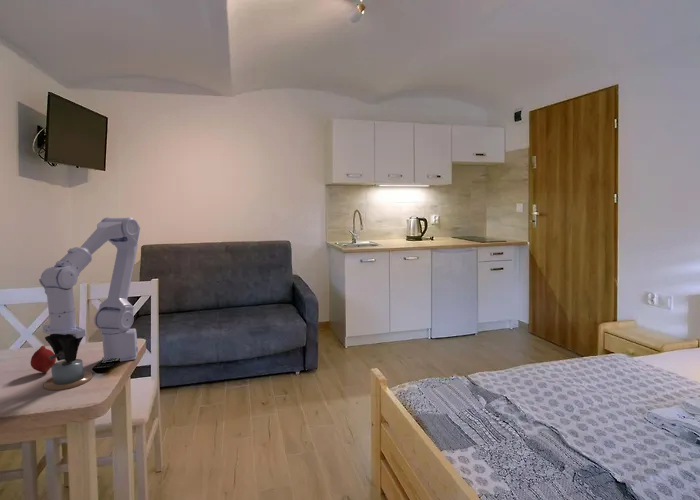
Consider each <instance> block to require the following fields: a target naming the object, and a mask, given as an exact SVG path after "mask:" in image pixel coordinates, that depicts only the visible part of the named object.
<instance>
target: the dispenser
mask: <svg viewBox="0 0 700 500" xmlns="http://www.w3.org/2000/svg"><path fill="white" fill-rule="evenodd" d="M83 363H84V362H83V360H82V359H81V358H80V359H79V358H76V360H75V361H72V362H69V363H67V362H65V360H60V361H58V362H57V361H56V362H55V364H53V365H52V366H51V368H50V370H51V376H52V377H51V378H49V379H47V380H46V381H45V382H44V383H43V388H44V389H45V390H47V391H62V390H69V389H72V388H76V387H79V386H82V385H84V384H86V383H88V382H90V381H91V380H92V379H93V373H92V372H91V371H86V370H84V365H83Z"/></svg>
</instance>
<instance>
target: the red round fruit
mask: <svg viewBox="0 0 700 500" xmlns="http://www.w3.org/2000/svg"><path fill="white" fill-rule="evenodd" d="M52 355H55V353H54V351H53V350H51V349H48V348H47V347H46V345H41V346H40V347H39V348H38V349H37V350H36V351H35V352H34V353H33V354H32V356H31V358H30V366H31V368H32V369H33V370H35V371H37V372H39V373H42V374H44V373H45V374H46V373H48V371H50V370H51V366H52V365H53V364H55V363H57V358H54V359H49V356H52Z"/></svg>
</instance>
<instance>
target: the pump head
mask: <svg viewBox="0 0 700 500" xmlns="http://www.w3.org/2000/svg"><path fill="white" fill-rule="evenodd" d="M54 354H55V353H54ZM57 357H59V359H60V361H64V360H65V355H64V351H63V350H60V351H59V353H58V354H55V355H52V356H49V359H54V358H56V359H57ZM65 362H66V360H65Z"/></svg>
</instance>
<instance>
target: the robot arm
mask: <svg viewBox="0 0 700 500" xmlns="http://www.w3.org/2000/svg"><path fill="white" fill-rule="evenodd" d="M140 232H141V227H140V225H139V223H138V221H137V219H135V218H134V217H108V216H107V217H103V218H102V219H101V221H99V222H98V223H97V224H96V229H95V230H94V231H93V232H92V234H90V235H89V237H88V238H87V239H86V240H85V241H84V243H83V244H81V246H79V247H78V246H77V247H76V246H75V247H72V248H69V249H68V250H67V253H66V254H65V255H64V256H63V257H62V258H61V259H59V260H58V261H56V262H55V264H54V266H49V267H47V268H46V269H44V271H43V272H42V273H41V275H40V278H39V279H38V280H39V284H40V286H41V287H43V288H44V294H45V295H46V299H47V309H48V317H49V323H47V324H45V325H42V332H43V333H44V334H47V335H46V336H45V337H44V339H45V341H46V342H47V343H48V345H50V347H51V349H52V352H53V353H54V354H58V353H59V351H60V350H63V351H64V355H65V360H66V362H67V363H69V362H72V361H75V360H76V359H77V356H78V355H77V354H78V351H79V347H80V345H81V342H82V340H83V338H84V337H86V329H85V328H83V327H81V326H79V325H77V321H76V310H75V301H74V289H73V287H74V286H75V285H77V282H78V280H79V279H78V277H79V276H80V273H82V271H83V270H84V269H86V267H87V266H88V265H89V264H90V263H91V262H92V261H93V258H92V255H93V254H94V253H95V252H96V251H98V250H99V249H100V248H101V247H102V246H104V245H105V243H107V242H109V243H111V244H112V245H113V246H114V247H116V251H117V252H116V255H115V259H114V260H115V261H114V265H113V270H112V275H111V281H110V285H109V290H108V293H107V294H108V295H107V298H106V299H105V300H104V301H102V302H101V303H100V304H99V307H98V310H97V311H96V313H95V315H94V319H93V323H94V325H95V327H96V328H97V329H99V332H100V333H101V338H102V339H101V341H102V350H103V351H102V352H103V357H102V360H103V359H105V358H120V362H125V361H132V360H133V361H134V360H136V359H137V356H138V353H139V345H138V335H137V329H136V328H131V327H132V325H133V323H134V320H135V317H134V306H133V305H132V303H131V302H129V300H128V298H129V293H130V287H131V281H132V277H133V274H134V273H133V272H134V266H135V260H136V257H137V252H138V242H139V238H140ZM102 360H101V361H102ZM56 361H58V362H60V361H61V360H60V359H59V357H57V358H56Z"/></svg>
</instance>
